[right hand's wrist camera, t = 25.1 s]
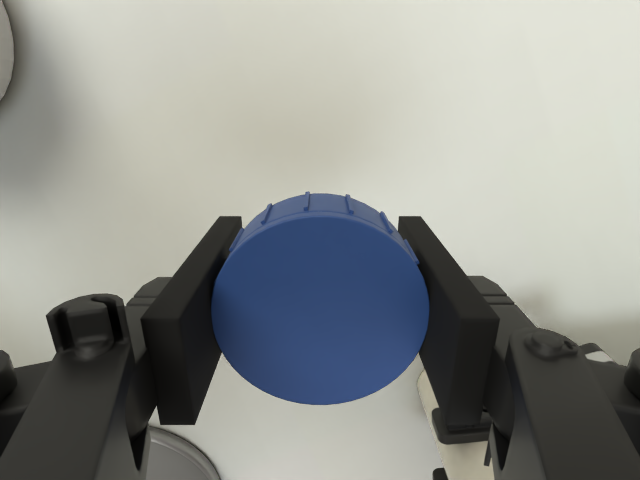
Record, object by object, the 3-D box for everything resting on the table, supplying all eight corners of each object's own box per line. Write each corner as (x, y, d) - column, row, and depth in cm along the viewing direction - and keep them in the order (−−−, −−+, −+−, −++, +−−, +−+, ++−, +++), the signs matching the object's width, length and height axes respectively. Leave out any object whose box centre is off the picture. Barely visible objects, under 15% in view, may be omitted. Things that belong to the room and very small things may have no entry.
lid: (431, 332, 13) (451, 377, 11) (266, 376, 13) (257, 426, 11) (386, 164, 11) (401, 182, 9) (196, 226, 11) (170, 255, 9)
